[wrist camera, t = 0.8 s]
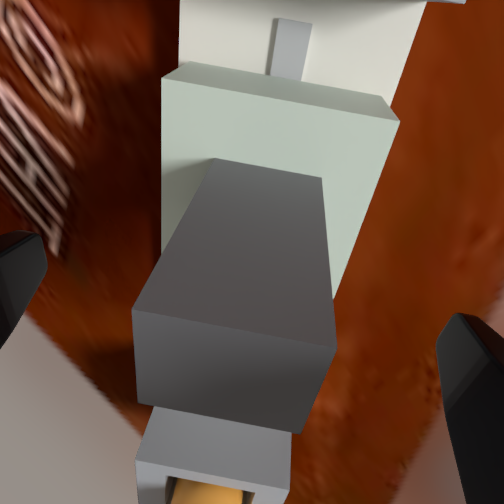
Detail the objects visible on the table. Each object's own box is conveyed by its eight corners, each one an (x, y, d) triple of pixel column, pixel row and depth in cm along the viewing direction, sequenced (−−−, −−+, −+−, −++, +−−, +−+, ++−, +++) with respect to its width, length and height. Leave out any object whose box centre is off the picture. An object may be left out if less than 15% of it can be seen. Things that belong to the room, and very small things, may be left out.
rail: (275, 416, 25) (266, 537, 20) (176, 397, 26) (139, 512, 20) (442, -86, 10) (610, -181, 5) (197, -128, 10) (69, -273, 5)
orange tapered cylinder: (244, 462, 22) (228, 585, 17) (187, 450, 22) (156, 570, 17) (252, 432, 20) (237, 562, 15) (190, 419, 20) (156, 546, 15)
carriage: (329, 251, 15) (352, 492, 8) (183, 224, 15) (71, 437, 8) (380, 95, 11) (510, 270, 4) (190, 60, 11) (-2, 175, 4)
